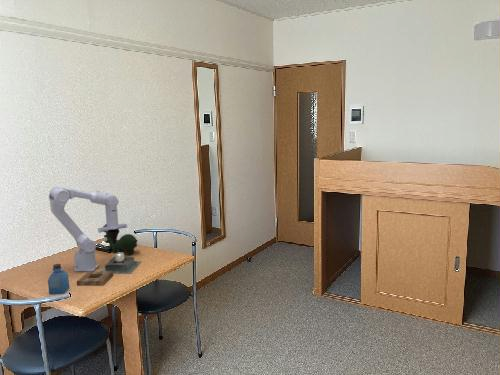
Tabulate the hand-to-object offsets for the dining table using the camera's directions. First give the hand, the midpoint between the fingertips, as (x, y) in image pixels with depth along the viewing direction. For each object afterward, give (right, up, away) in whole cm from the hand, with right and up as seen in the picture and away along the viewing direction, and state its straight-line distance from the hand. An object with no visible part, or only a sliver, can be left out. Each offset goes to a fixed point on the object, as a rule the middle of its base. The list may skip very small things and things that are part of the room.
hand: (114, 243), depth 215 cm
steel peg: (+6, -11, -8) cm, 14 cm away
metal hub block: (+6, -11, -7) cm, 15 cm away
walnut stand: (-1, -14, -23) cm, 27 cm away
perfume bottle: (-13, -16, -34) cm, 40 cm away
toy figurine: (-1, -8, +17) cm, 18 cm away
